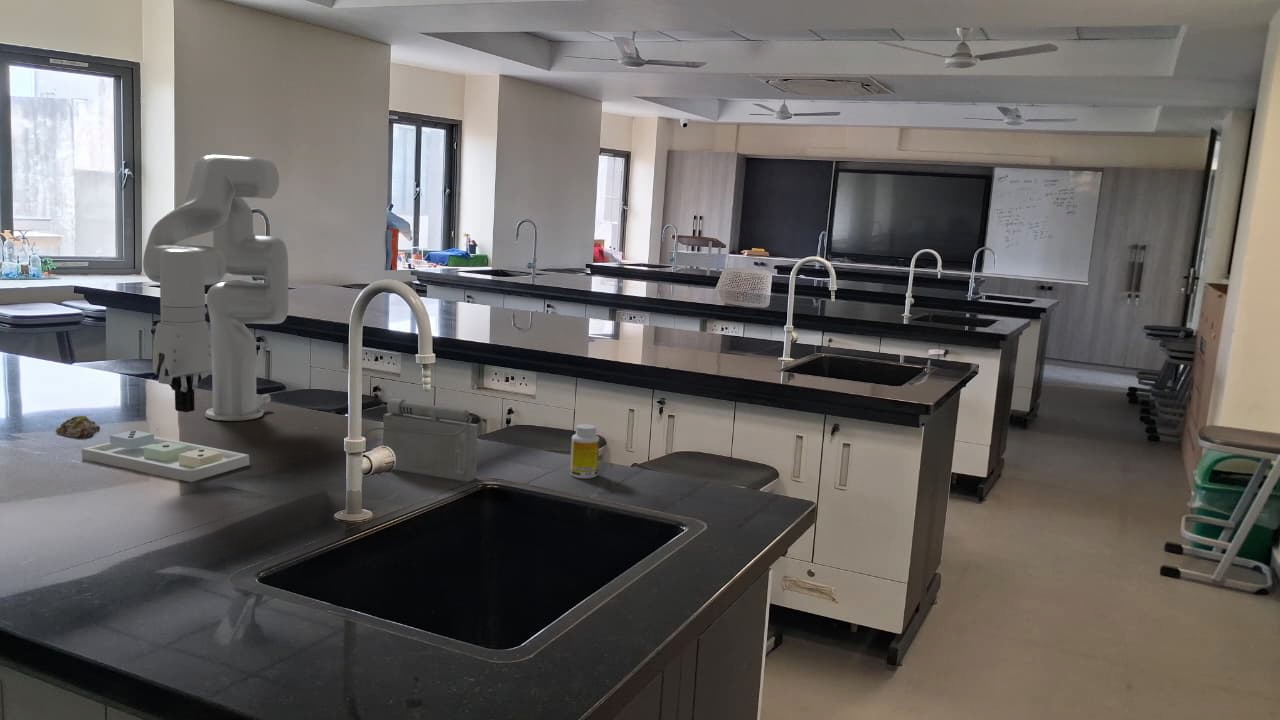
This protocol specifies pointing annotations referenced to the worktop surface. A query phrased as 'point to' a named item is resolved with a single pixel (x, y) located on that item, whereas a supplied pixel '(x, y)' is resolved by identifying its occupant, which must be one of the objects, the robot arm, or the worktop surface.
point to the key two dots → (200, 457)
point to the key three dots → (131, 439)
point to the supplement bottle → (584, 452)
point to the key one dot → (164, 451)
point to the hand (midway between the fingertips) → (184, 410)
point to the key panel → (168, 468)
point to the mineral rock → (78, 427)
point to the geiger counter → (430, 439)
